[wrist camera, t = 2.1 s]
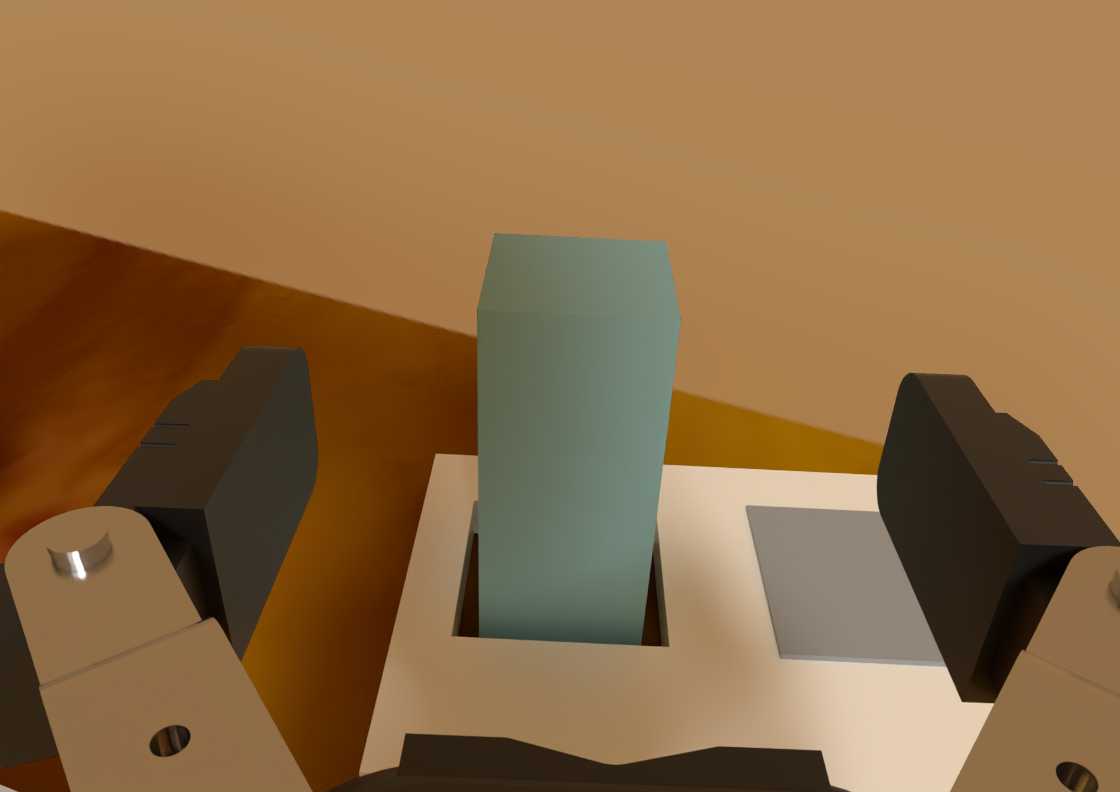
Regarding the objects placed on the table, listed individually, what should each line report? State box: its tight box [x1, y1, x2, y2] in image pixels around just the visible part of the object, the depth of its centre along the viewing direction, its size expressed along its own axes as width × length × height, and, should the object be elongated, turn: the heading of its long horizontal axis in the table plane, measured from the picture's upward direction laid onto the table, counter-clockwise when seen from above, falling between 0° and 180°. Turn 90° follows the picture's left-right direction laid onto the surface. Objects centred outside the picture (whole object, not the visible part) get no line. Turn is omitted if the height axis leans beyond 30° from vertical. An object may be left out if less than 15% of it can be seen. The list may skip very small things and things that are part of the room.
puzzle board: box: [359, 454, 994, 792], centre depth 30 cm, size 20×14×2 cm
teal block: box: [477, 233, 681, 646], centre depth 28 cm, size 5×5×12 cm
